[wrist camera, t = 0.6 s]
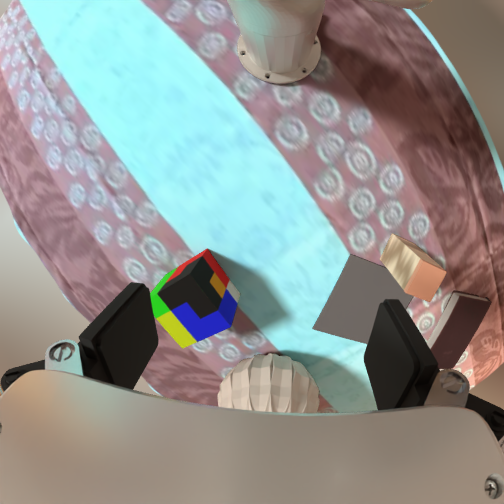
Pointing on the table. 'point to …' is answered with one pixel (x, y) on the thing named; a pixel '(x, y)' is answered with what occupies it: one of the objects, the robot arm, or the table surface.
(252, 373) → the vase
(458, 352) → the book
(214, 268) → the puzzle toy
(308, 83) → the table surface
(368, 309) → the mat
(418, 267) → the tall block
